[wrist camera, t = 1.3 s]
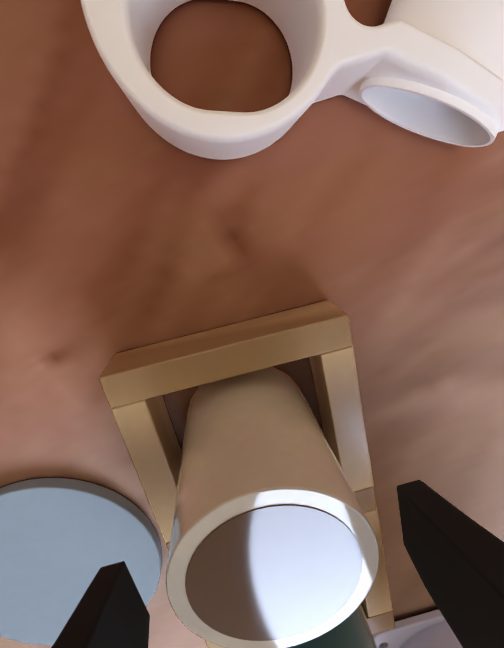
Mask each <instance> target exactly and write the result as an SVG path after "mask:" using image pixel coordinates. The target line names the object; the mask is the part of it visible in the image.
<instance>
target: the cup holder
mask: <svg viewBox="0 0 504 648" xmlns="http://www.w3.org/2000/svg"><path fill="white" fill-rule="evenodd" d="M352 345H353V343H352V336H351V329H350V323H349V316H348V314H347V313H345V312H344V311H342V310H341V309H340V308H338V307H337V306H335V305H334V304H333V303H331V302H330V301H328V300H327V301H323V302H319V303H315V304H311V305H307V306H303V307H299V308H295V309H291V310H287V311H283V312H279V313H275V314H271V315H267V316H263V317H259V318H255V319H251V320H247V321H243V322H239V323H236V324H232V325H228V326H224V327H220V328H216V329H212V330H208V331H204V332H200V333H196V334H192V335H188V336H184V337H180V338H176V339H172V340H168V341H164V342H160V343H156V344H152V345H148V346H144V347H141V348H137V349H133V350H129V351H125V352H121V353H117V354H115V355H114V357H113V358H112V360H111V361H110V363H109V364H108V365H107V367H106V368H105V370H104V371H103V373H102V374H101V375H100V377H99V381H100V383H101V386H102V388H103V390H104V393H105V395H106V398H107V400H108V403H109V405H110V407H111V408H112V409H111V410H112V413H113V415H114V418H115V420H116V422H117V425H118V427H119V430H120V432H121V435H122V437H123V440H124V442H125V445H126V447H127V450H128V452H129V455H130V457H131V460H132V462H133V464H134V467H135V469H136V472H137V474H138V477H139V479H140V482H141V484H142V487H143V489H144V492H145V494H146V497H147V499H148V502H149V504H150V506H151V509H152V511H153V514H154V516H155V519H156V521H157V524H158V526H159V529H160V531H161V534H162V536H163V539H164V541H165V542H166V545H167V548H168V550H169V547H170V539H171V532H172V524H173V516H174V508H175V500H176V492H177V485H178V477H179V469H180V461H181V453H182V451H181V448H180V446H179V443H178V440H177V437H176V434H175V431H174V428H173V425H172V423H171V420H170V417H169V414H168V411H167V408H166V405H165V402H164V400H163V397H162V395H164V394H168V393H172V392H176V391H179V390H183V389H187V388H191V387H195V386H199V385H203V384H207V383H210V382H214V381H218V380H222V379H226V378H230V377H234V376H238V375H241V374H245V373H249V372H253V371H257V370H261V369H265V368H269V367H272V366H276V365H280V364H284V363H288V362H292V361H296V360H300V359H303V358H307V357H309V359H310V364H311V369H312V374H313V380H314V385H315V390H316V395H317V400H318V405H319V411H320V416H321V421H322V426H323V431H324V435H325V437H326V439H327V441H328V443H329V445H330V447H331V449H332V451H333V453H334V455H335V457H336V459H337V461H338V462H339V464H340V466H341V468H342V470H343V472H344V474H345V476H346V478H347V480H348V482H349V484H350V486H351V488H352V490H353V492H354V493H355V495H356V497H357V499H358V501H359V503H360V505H361V507H362V509H363V511H364V513H365V515H366V517H367V519H368V521H369V523H370V525H371V527H372V529H373V531H374V533H375V536H376V539H377V543H378V551H379V562H378V570H377V573H376V577H375V580H374V582H373V585H372V587H371V589H370V591H369V593H368V594H367V596H366V598H365V599H364V600H363V602H362V603H361V606H362V608H363V611H364V614H365V616H366V619H367V621H368V624H369V627H370V629H371V632H372V634H376V633H380V632H383V631H387V630H390V629H394V628H395V623H394V616H393V610H392V604H391V597H390V591H389V584H388V577H387V571H386V564H385V557H384V551H383V544H382V537H381V531H380V524H379V517H378V511H377V505H376V498H375V491H374V482H373V476H372V469H371V462H370V456H369V449H368V442H367V435H366V429H365V422H364V415H363V409H362V402H361V395H360V389H359V382H358V375H357V369H356V362H355V355H354V348H353V346H352ZM205 642H206V644H207V647H208V648H226V647H222V646H219V645H216V644H213V643H211V642H209V641H207V640H205Z"/></svg>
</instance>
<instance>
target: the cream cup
mask: <svg viewBox="0 0 504 648" xmlns="http://www.w3.org/2000/svg"><path fill="white" fill-rule="evenodd" d="M378 562H379V551H378V543H377V539H376V536H375V533H374V531H373V529H372V527H371V525H370V523H369V521H368V519H367V517H366V515H365V513H364V511H363V509H362V507H361V505H360V503H359V501H358V499H357V497H356V495H355V493H354V492H353V490H352V488H351V486H350V484H349V482H348V480H347V478H346V476H345V474H344V472H343V470H342V468H341V466H340V464H339V462H338V461H337V459H336V457H335V455H334V453H333V451H332V449H331V447H330V445H329V443H328V441H327V439H326V437H325V435H324V433H323V431H322V429H321V428H320V426H319V424H318V422H317V420H316V418H315V416H314V414H313V412H312V410H311V408H310V406H309V404H308V402H307V400H306V398H305V396H304V395H303V393H302V391H301V389H300V388H299V386H298V385H297V384H296V382H295V381H294V380H293V379H292V378H291V377H289V376H288V375H287V374H285V373H284V372H282V371H281V370H279V369H276V368H274V367H269V368H265V369H261V370H257V371H253V372H249V373H245V374H241V375H238V376H234V377H230V378H226V379H222V380H218V381H214V382H210V383H207V384H203V385H200V386H199V387H198V388H197V390H196V391H195V393H194V394H193V396H192V398H191V400H190V403H189V405H188V409H187V414H186V422H185V430H184V438H183V446H182V453H181V461H180V469H179V477H178V485H177V492H176V500H175V508H174V516H173V524H172V532H171V539H170V547H169V555H168V563H167V571H166V588H167V595H168V598H169V601H170V604H171V606H172V608H173V610H174V612H175V614H176V615H177V617H178V618H179V619H180V621H181V622H182V623H183V624H184V625H185V626H186V627H187V628H188V629H189V630H190V631H192V632H193V633H195V634H196V635H198V636H199V637H201V638H203V639H205V640H207V641H209V642H211V643H213V644H216V645H219V646H222V647H226V648H288V647H292V646H296V645H299V644H302V643H305V642H308V641H310V640H312V639H315V638H317V637H319V636H321V635H323V634H325V633H326V632H328V631H330V630H332V629H333V628H335V627H336V626H338V625H339V624H340V623H342V622H343V621H344V620H345V619H347V618H348V617H349V616H350V615H351V614H352V613H353V612H354V611H355V610H356V609H357V608H358V607H359V605H360V604H361V603H362V602H363V600H364V599H365V598H366V596H367V594H368V593H369V591H370V589H371V587H372V585H373V582H374V580H375V577H376V573H377V570H378Z"/></svg>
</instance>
